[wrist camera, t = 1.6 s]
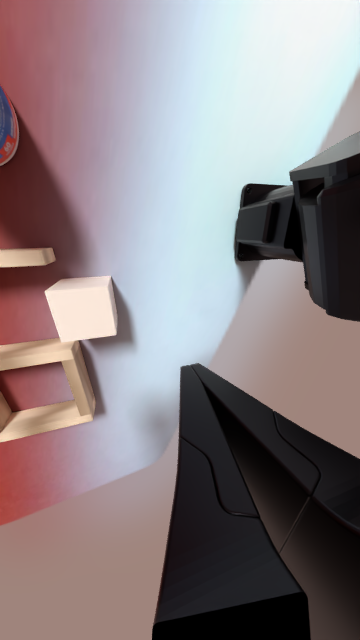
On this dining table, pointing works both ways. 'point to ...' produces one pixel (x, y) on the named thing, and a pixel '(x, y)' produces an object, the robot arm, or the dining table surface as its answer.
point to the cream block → (83, 308)
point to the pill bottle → (7, 129)
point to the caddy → (46, 418)
